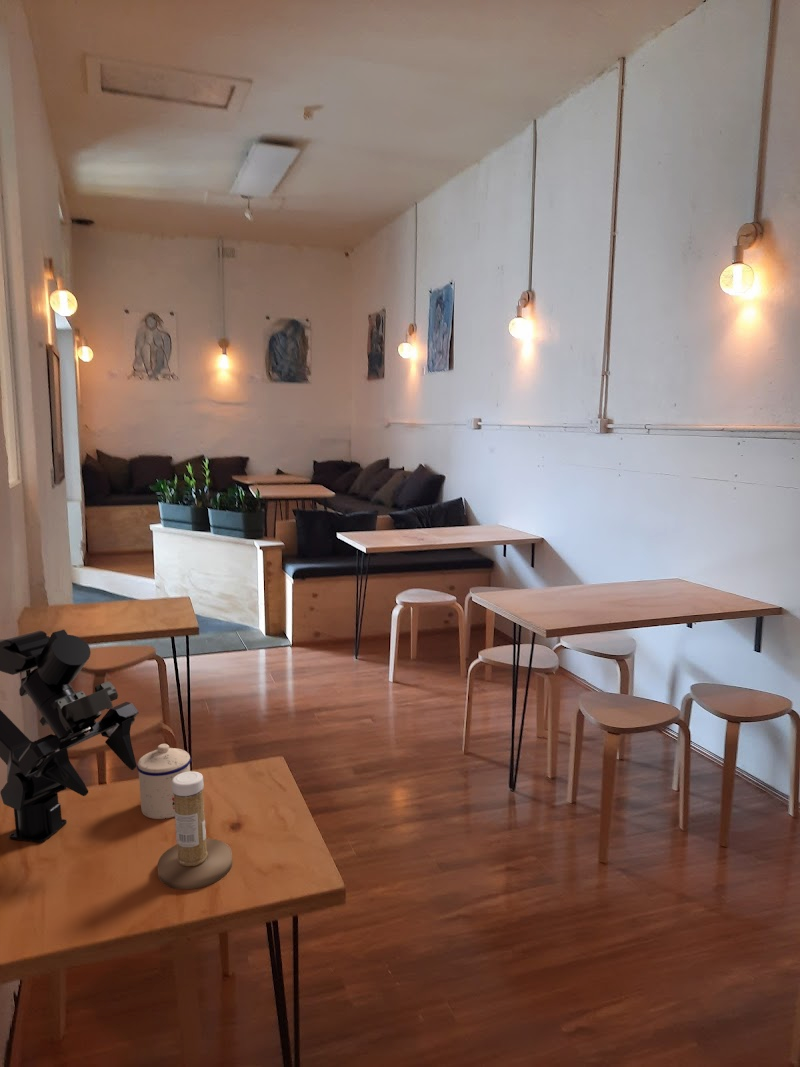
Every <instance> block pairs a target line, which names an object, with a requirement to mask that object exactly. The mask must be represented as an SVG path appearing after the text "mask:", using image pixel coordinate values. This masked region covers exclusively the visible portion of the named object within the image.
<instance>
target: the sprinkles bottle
mask: <svg viewBox="0 0 800 1067" xmlns="http://www.w3.org/2000/svg"><path fill="white" fill-rule="evenodd" d="M204 786H205V785H204V776H203V774H202V773H200V772H198V771H191V770H190V771H189V772H183V773H180V774H178V775H176V776H175V777H174V778H173V780H172V791H173V794H174V803H175V817H174V820H175V821H174V823H175V824H174V825H175V836H176V837H175V838H176V840H175V841H176V845H177V848H178V858H177V860H178V862H179V864H181V865H183V866H196V865H198V864H200V863H203V862H204V861H205V860H206V858H207V855H208V853H207V849H206V838H207V832H206V828H207V827H206V819H205V818H206V817H205V810H204V809H205V808H204V804H205V803H204V793H203V791H204Z"/></svg>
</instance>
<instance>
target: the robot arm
mask: <svg viewBox="0 0 800 1067" xmlns="http://www.w3.org/2000/svg"><path fill="white" fill-rule="evenodd" d="M90 658H91V647H90V645H89V644H88V642H87V641H85V640H83V638H81V637H78V636H76V635H73V634H72V635H71V634H68V632H67V631H66V629H60V630H57V631H53V632H51V635H50V636H48V634H47V632H45V631H43V630H35V631H33V632H28V633H25V634H21V635H18V636H14V637H11V638H7V639H6V638H5V639H3V638H2V639H1V638H0V672H2V673H5V674H8V675H12V676H13V675H16V674H20V673H23V672H26V671H27V672H28V671H30V672H29V674H28V675H27V676H25V677H22V678H21V679H20V683H21V684H20V686H19V690H18V691H19V696H20V697H24V696H27V695H28V697H29V698H30V699H31V701H32V702H33V704H34V705H35V707H36V709H37V710H38V711H39V712H40V714H41V716H42V717H41V718H40V719H39V723H40V724H41V726H42V727H44V726H46V725H48V726H49V727H50V729H51V730H52V732H53V734H52V733H50V734H48V735H46V736H44V737H41V738H39V739H37V740H34V741H32V740H31V739H29V737H28V735H26V734H25V733H24V732H23V731H22V730H21V729H20V728H19V727H18V726H17V725H16V724H15V723H14V722H13V720H11V719H10V718H9V717H8V716H7V715H6V714H5V713H4V712H3V711H2V710H1V709H0V759H1V760H2V761H3V763H5V765H6V781H7V782H6V783H5V785H4V786H3V787H2V789H1V790H0V796H1V799H2V802H3V803H2V804H3V805H5V806H7V807H9V808H12V809H13V814H14V815H13V816H14V824H15V826H14V827H15V830H14V831H13V832H11V833H10V834H9V836H8V837H9V838H8V839H10V840H18V841H24V842H32V843H43V842H45V841H46V840H48V839H49V838H50V837H52V836H53V834H56V833H57V832H58V831H59V830H60V829H61V828H63V827H64V826H65V825H66V824H67V819H63V818H62V809H61V808H62V806H61V805H62V804H61V803H60V802H59V796H58V795H59V794H58V793H60V792H62V791H65V790H67V788H68V790H71V791H73V792H74V793H76V794H78V795H80V796H82V797H85V796H87V795H88V793H89V790H88V788H87V786H86V784H85V782H84V781H83V778H81V776H80V775H79V773H78V771H77V770H76V769H75V767H74V766H73V764H72V763H71V760H70V758H69V757H70V756H69V753H68V749H70V748H72V747H74V746H76V745H79V744H80V743H83V742H86V741H87V740H89V739H91V738H94V737H96V736H99V735H101V736H102V737H104V738H107V739H106V740H105V744H106V745H107V746H108V748H109V749H111V750H112V752H113V753H114V754H115V755H116V756H117V757H118V758H119V759H120V760H121V762H122V763H123V764H124V765H125V767H127V768H129V769H130V771H134V770H135V769H137V762H136V757H135V753H134V748H133V744H132V739H131V727H132V725H133V724H134V723H135V720H136V717H137V716H138V714H139V713H140V711H139V710H138V709H137V708H136V706H135V705H134V703H132V702H129V701H125V702H123V703H120V704H117V705H115V706H114V705H113V703H112V702H113V701H115V700H117V699H118V698H119V694H118V691H117V689H116V687H115V686H114V685H113V684H112V683H111V681H110V680H108V681H105V682H103V683H100V684H97V685H95V686H94V692H93V693H91V694H88V695H86V694H85V692H84V691H82V690H77V691H75V689H74V688H73V686H72V685H71V683H72V682H73V681H74V680H75V679H76V678H77V676H78V675H79V673H80V672H81V671H82V669H83V667H85V665H86V663H87V662H88V660H89V659H90ZM31 670H32V671H31ZM104 710H107V712H106V713H105V714H104V716H103V717H102V718H101V719H100V720H98V721H96V720H97V719H99V718H100V716H101V715H102V711H104Z"/></svg>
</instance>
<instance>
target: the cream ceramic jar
mask: <svg viewBox="0 0 800 1067" xmlns="http://www.w3.org/2000/svg"><path fill="white" fill-rule="evenodd" d="M191 762H192V757H191V755H190V753H189V752H187V751H186V750H185V749H181V748H175V747H174V748H173V747H170V745H168V743H161V744H159V745H158V746H157V748H156V749H155V750H152V751H150V752H147V753H145V754H144V755H143V756H141V757H140V758H139V759H138V762H137V763H136V765H137V766H136V769H137V771H138V782H139V795H140V796H139V797H140V807H141V808H140V810H141V813H142V814H143V815H144V816H145V817H147V818H149V819H154V820H164V819H165V818H166V819H170V818H175V803H174V794H173V791H172V780H173V778H174V777H175V776H176V775H178V774H180V773H183V772H189V771H191ZM166 819H165V820H166Z"/></svg>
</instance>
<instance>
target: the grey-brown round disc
mask: <svg viewBox="0 0 800 1067" xmlns="http://www.w3.org/2000/svg"><path fill="white" fill-rule="evenodd" d="M206 849H207V853H208V855H207V858H206V860H205V861H204V862H203V863H200V864H198V865H196V866H183V865H181V864H179V862H178V860H177V858H178V848H177V844H175V845H173V846H171V847H170V848H168V849H167V850H166V851H164V853H162V854H161V856H160V857H159V859H158V862H157V874H158V875H157V876H158V878H159V881H160V882H161V883H162V884H163V885H164V886H167V887H169V888H172V889H176V890H194V889H195V890H196V889H201V888H204V887H207V886H210V885H213V884H215V883H217V882H218V881H220V880H221V879H223V878H224V877H225V876H226V875H227V874H229V872H230V871H231V869H232V867H233V866H232V865H233V854H232V853H233V852H232V849H231V847H230V845H228V844H227V843H226V842H224V841H222V840H219V839H214V838H207V837H206Z"/></svg>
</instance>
